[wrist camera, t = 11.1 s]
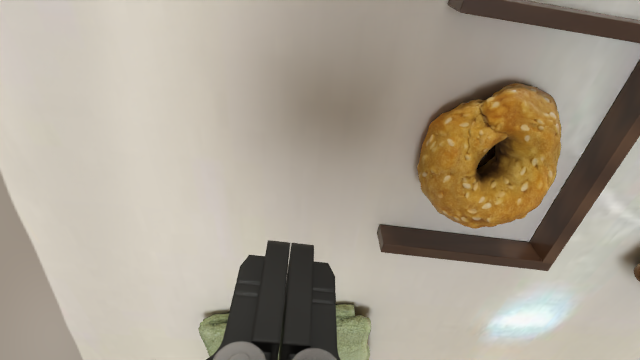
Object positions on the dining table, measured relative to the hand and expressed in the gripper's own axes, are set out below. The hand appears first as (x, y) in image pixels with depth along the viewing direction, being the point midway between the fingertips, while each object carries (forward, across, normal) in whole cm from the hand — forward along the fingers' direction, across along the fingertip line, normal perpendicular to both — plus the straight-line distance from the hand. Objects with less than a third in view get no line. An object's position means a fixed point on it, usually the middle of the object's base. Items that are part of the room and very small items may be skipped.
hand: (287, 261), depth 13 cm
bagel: (+17, -14, +3) cm, 22 cm away
